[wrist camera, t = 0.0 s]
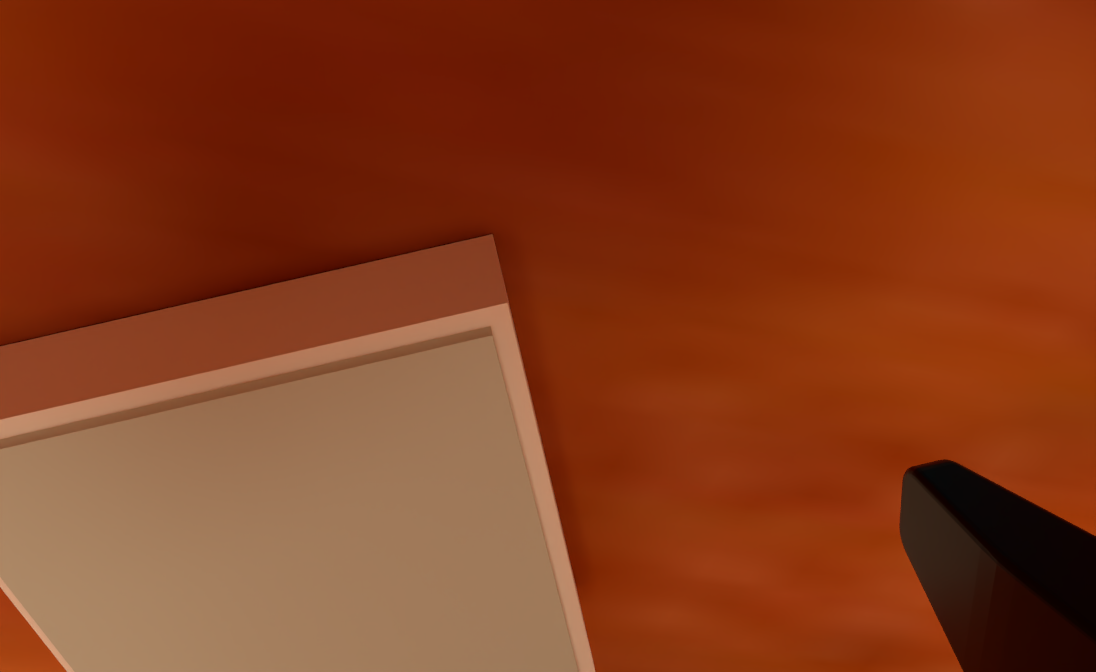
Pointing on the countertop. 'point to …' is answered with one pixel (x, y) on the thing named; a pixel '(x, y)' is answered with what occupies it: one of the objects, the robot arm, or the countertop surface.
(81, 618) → the stand
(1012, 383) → the countertop surface
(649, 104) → the countertop surface
